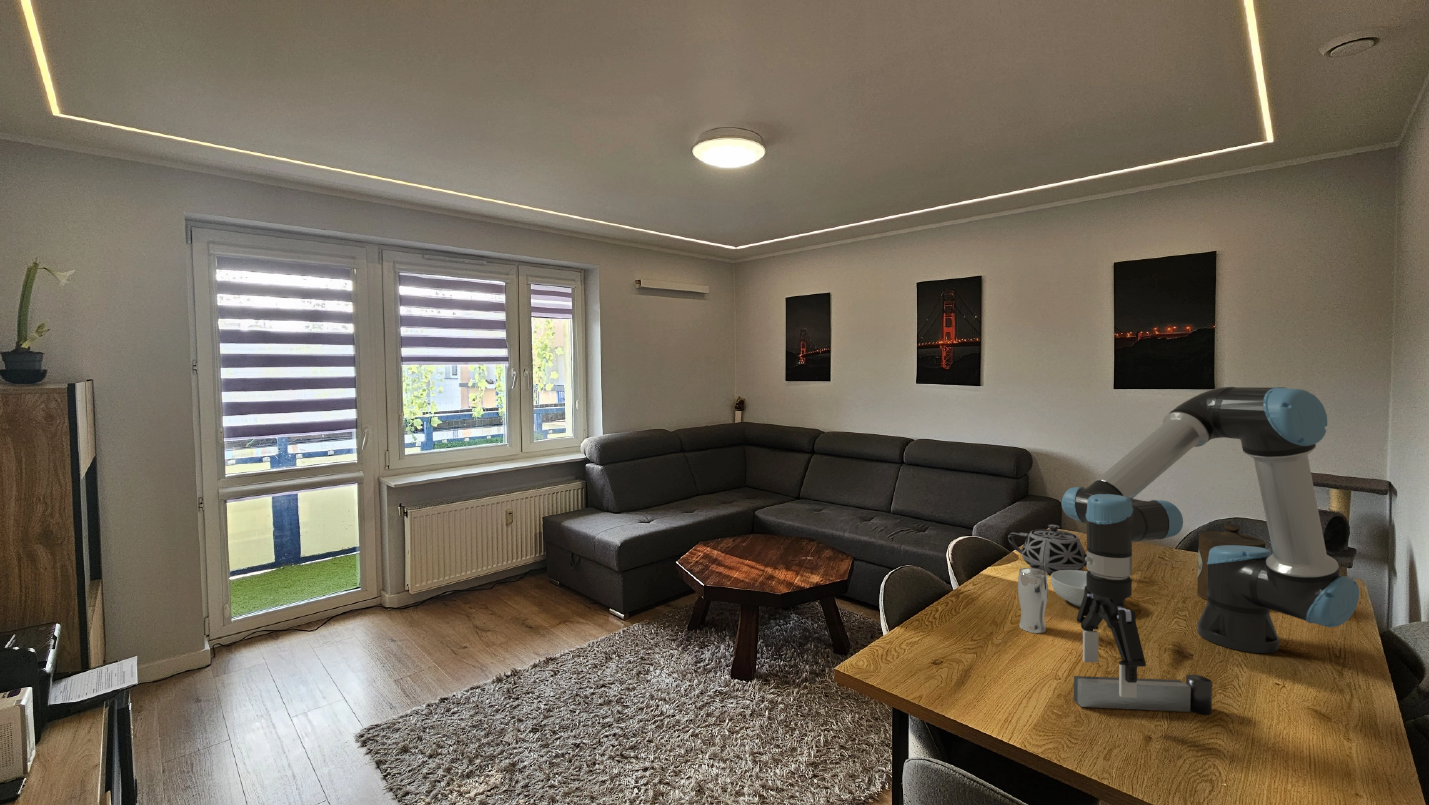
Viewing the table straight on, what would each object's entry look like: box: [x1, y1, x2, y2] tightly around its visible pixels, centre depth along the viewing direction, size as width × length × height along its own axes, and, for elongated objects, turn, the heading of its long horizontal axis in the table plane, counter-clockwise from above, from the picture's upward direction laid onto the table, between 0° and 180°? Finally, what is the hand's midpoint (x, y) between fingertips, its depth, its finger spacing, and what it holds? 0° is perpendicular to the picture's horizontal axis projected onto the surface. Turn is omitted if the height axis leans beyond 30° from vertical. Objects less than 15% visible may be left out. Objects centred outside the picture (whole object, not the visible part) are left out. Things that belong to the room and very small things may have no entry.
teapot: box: [1007, 524, 1087, 575], centre depth 201 cm, size 19×31×15 cm, turn 47°
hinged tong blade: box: [1076, 678, 1191, 713], centre depth 118 cm, size 20×2×5 cm, turn 83°
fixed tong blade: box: [1073, 674, 1213, 716], centre depth 119 cm, size 24×4×6 cm, turn 84°
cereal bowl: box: [1050, 570, 1088, 608], centre depth 172 cm, size 17×17×7 cm
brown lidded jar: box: [1196, 523, 1266, 601], centre depth 172 cm, size 15×15×22 cm
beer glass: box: [1017, 567, 1049, 634], centre depth 155 cm, size 7×7×15 cm
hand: (1108, 678), depth 119 cm, fingers open, 13 cm apart
